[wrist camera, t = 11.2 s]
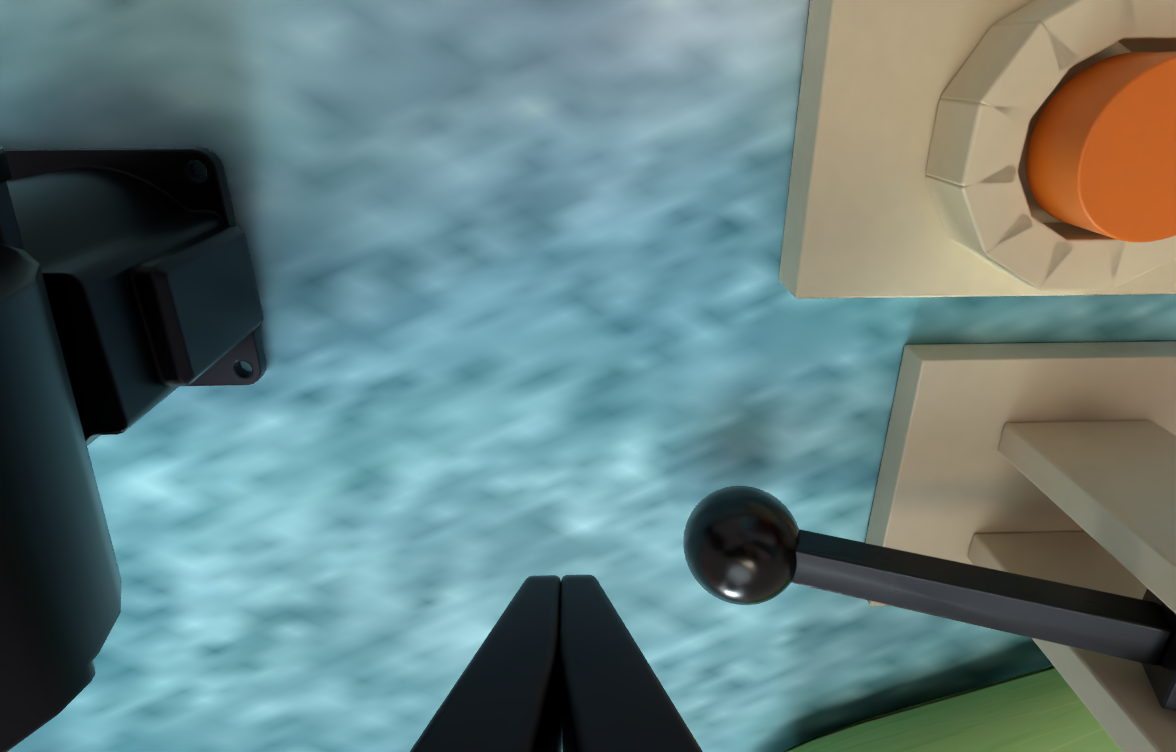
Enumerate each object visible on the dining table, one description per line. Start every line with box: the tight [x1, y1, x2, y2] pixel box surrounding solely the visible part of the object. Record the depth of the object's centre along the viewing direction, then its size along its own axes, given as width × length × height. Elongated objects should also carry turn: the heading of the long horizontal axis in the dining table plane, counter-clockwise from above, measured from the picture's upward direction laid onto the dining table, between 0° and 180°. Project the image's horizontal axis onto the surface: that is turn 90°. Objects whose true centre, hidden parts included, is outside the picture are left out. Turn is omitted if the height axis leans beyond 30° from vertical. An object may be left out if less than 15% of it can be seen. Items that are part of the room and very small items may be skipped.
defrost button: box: [1026, 52, 1176, 243], centre depth 14 cm, size 4×4×2 cm
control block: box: [779, 0, 1176, 299], centre depth 16 cm, size 12×8×4 cm, turn 90°
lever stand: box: [865, 341, 1176, 752], centre depth 18 cm, size 10×9×9 cm
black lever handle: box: [683, 486, 1176, 712], centre depth 17 cm, size 14×3×3 cm, turn 91°
